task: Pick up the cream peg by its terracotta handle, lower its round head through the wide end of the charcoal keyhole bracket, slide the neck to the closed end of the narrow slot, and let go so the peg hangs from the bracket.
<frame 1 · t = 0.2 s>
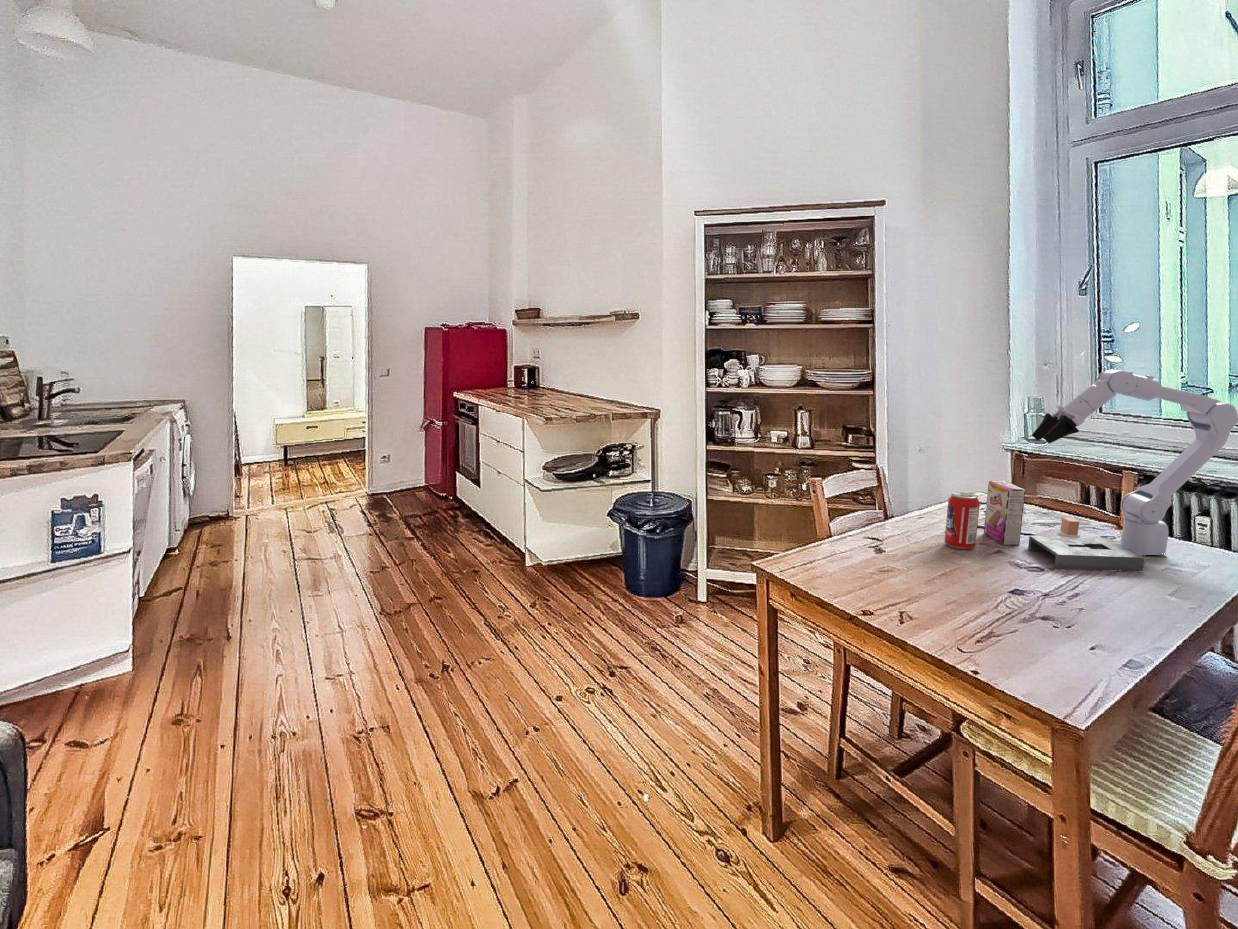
hand: (1040, 439, 181), 31 cm above the table, tool tilted 45°, fingers open, 7 cm apart
keyhole bracket: (1082, 559, 177), on the table
peg: (1067, 543, 190), on the table
soda can: (959, 547, 188), on the table
candy bar box: (1000, 540, 194), on the table
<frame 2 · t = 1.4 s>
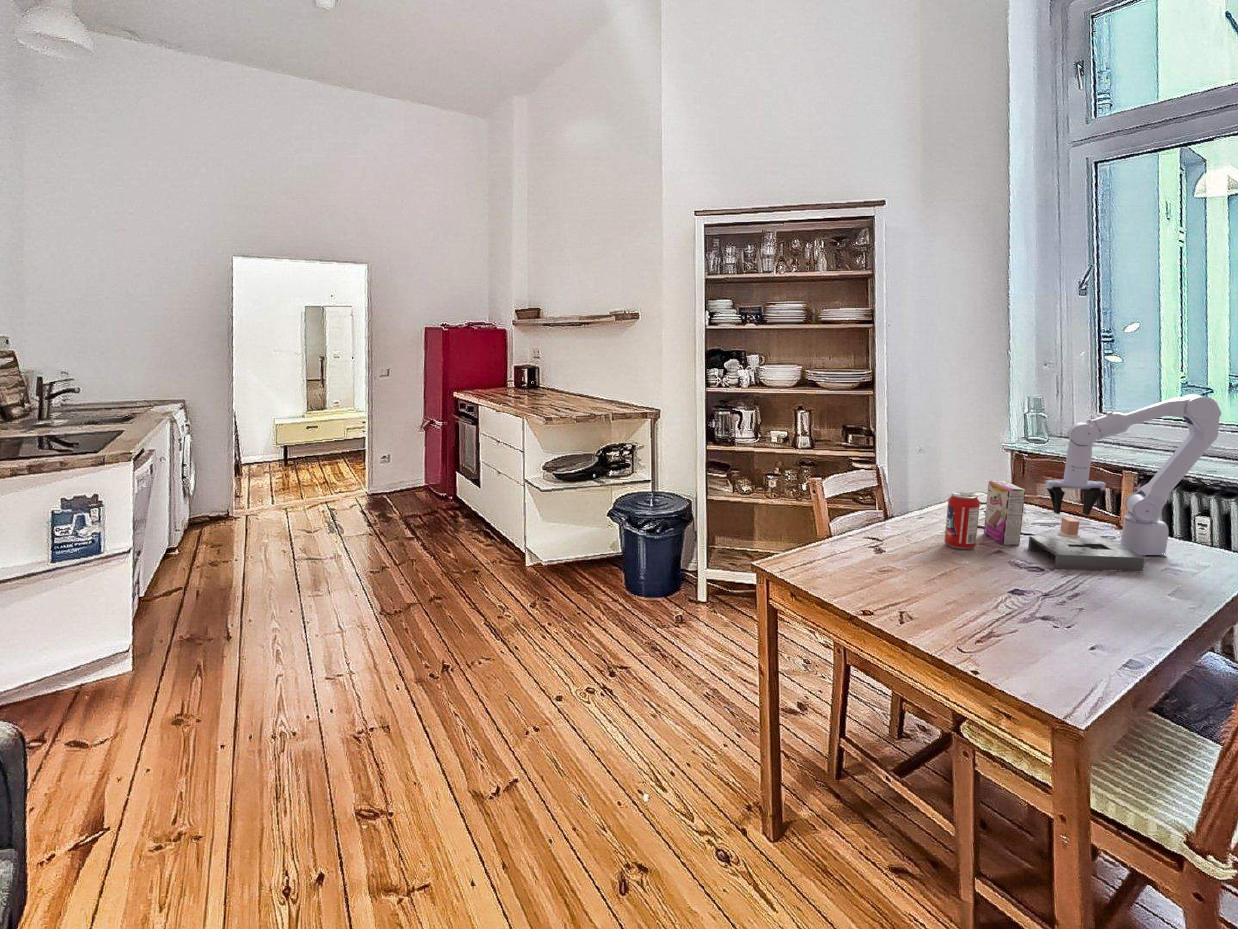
hand: (1071, 513, 188), 9 cm above the table, tool pointing down, fingers open, 7 cm apart
nothing on the table moved.
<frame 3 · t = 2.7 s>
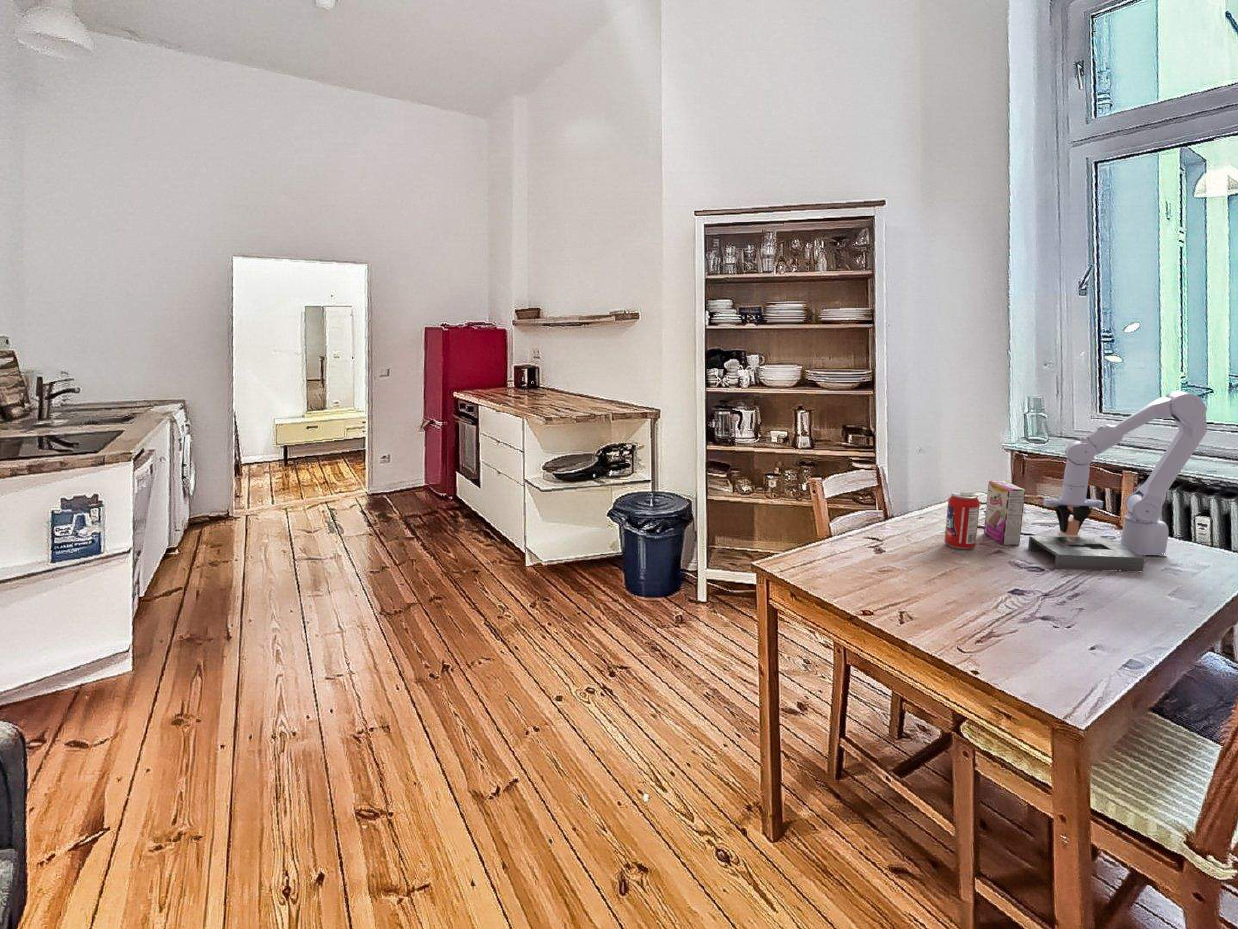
hand: (1069, 531, 189), 4 cm above the table, tool pointing down, fingers closed on peg, 3 cm apart
peg: (1067, 543, 190), on the table, touching gripper
everything else where it was.
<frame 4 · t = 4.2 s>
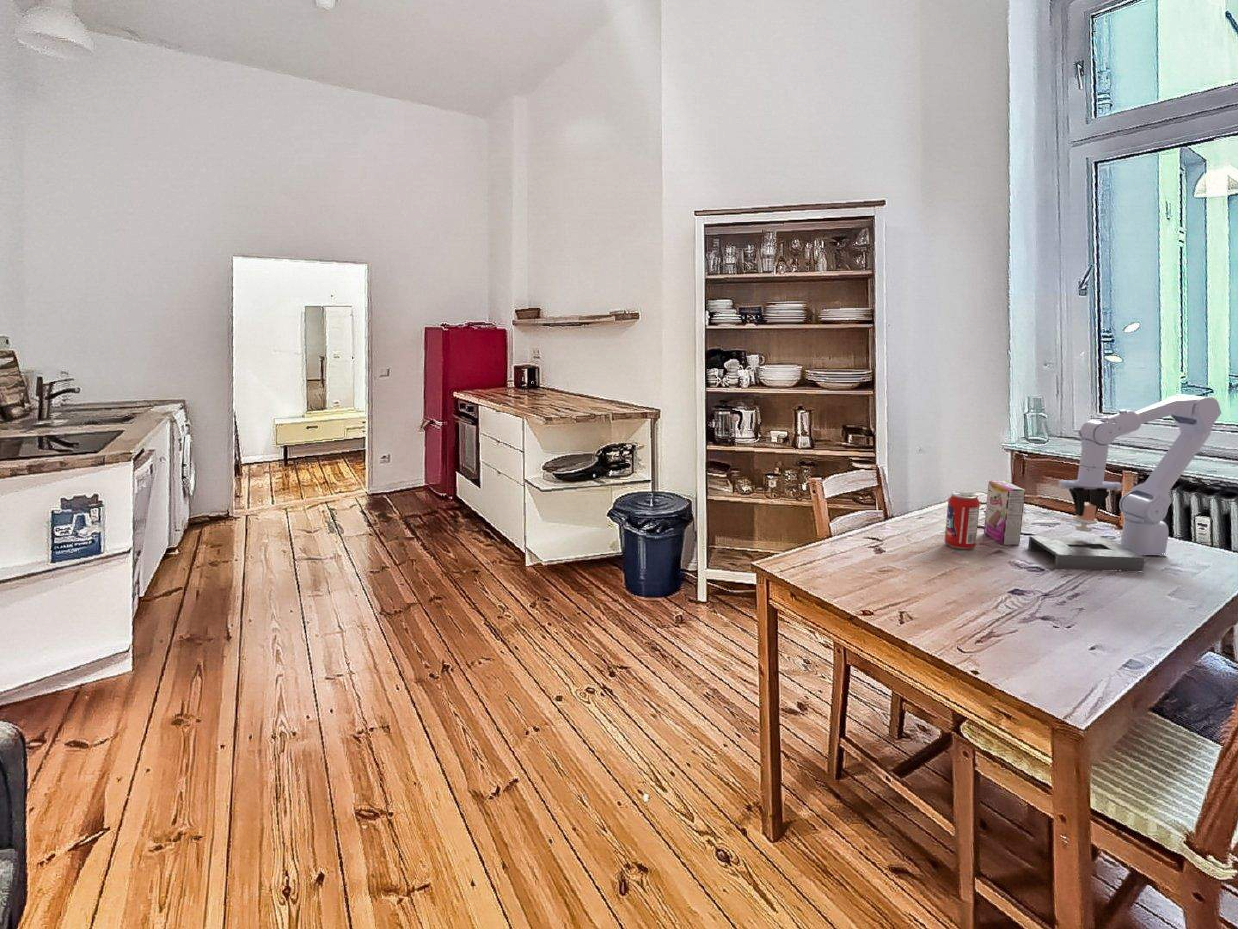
hand: (1085, 515, 181), 10 cm above the table, tool pointing down, fingers closed on peg, 3 cm apart
peg: (1083, 529, 182), point 6 cm above the table, touching gripper
everything else where it was.
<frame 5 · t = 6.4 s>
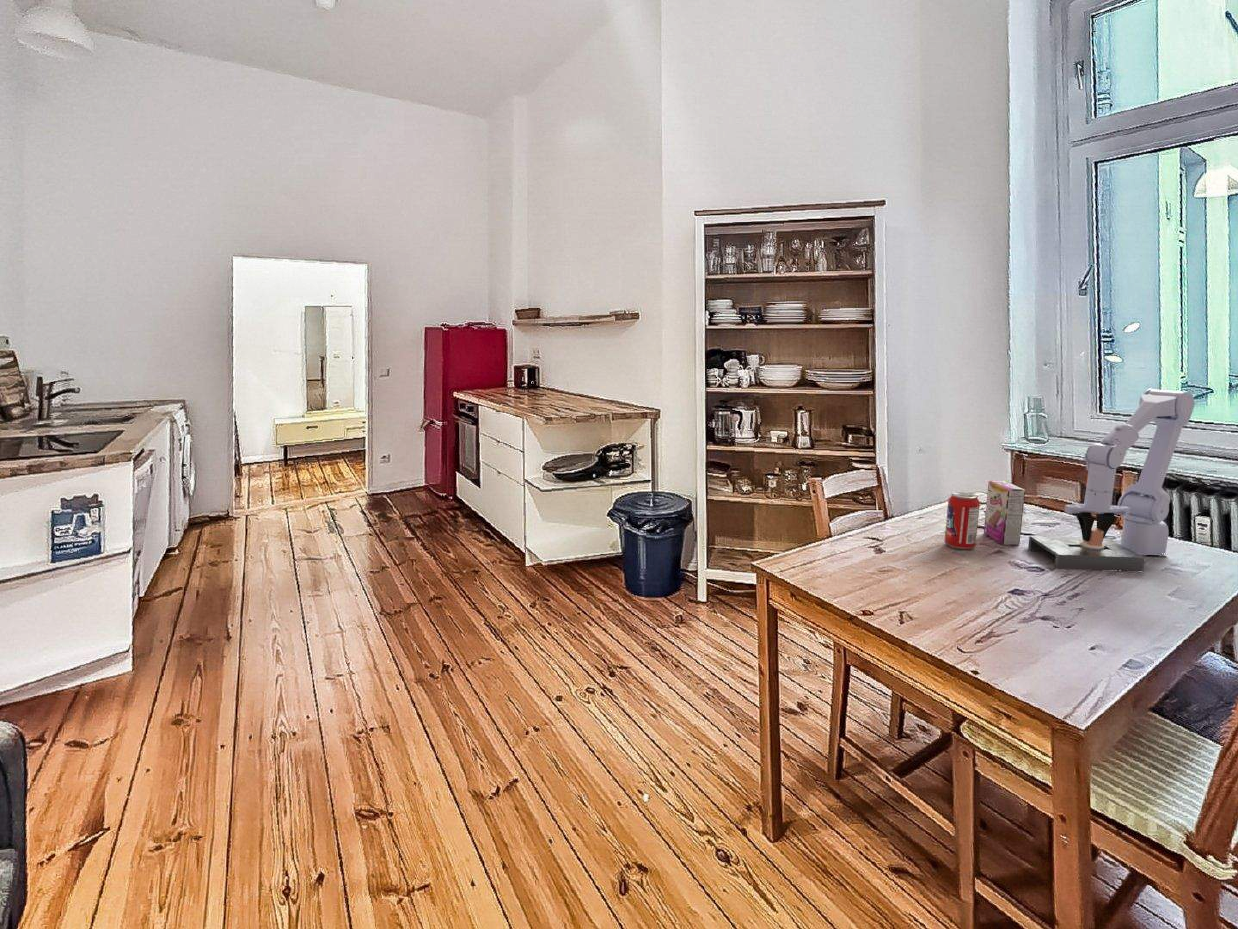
hand: (1092, 540, 176), 5 cm above the table, tool pointing down, fingers closed on peg, 3 cm apart
peg: (1090, 555, 176), point 1 cm above the table, touching gripper
everything else where it was.
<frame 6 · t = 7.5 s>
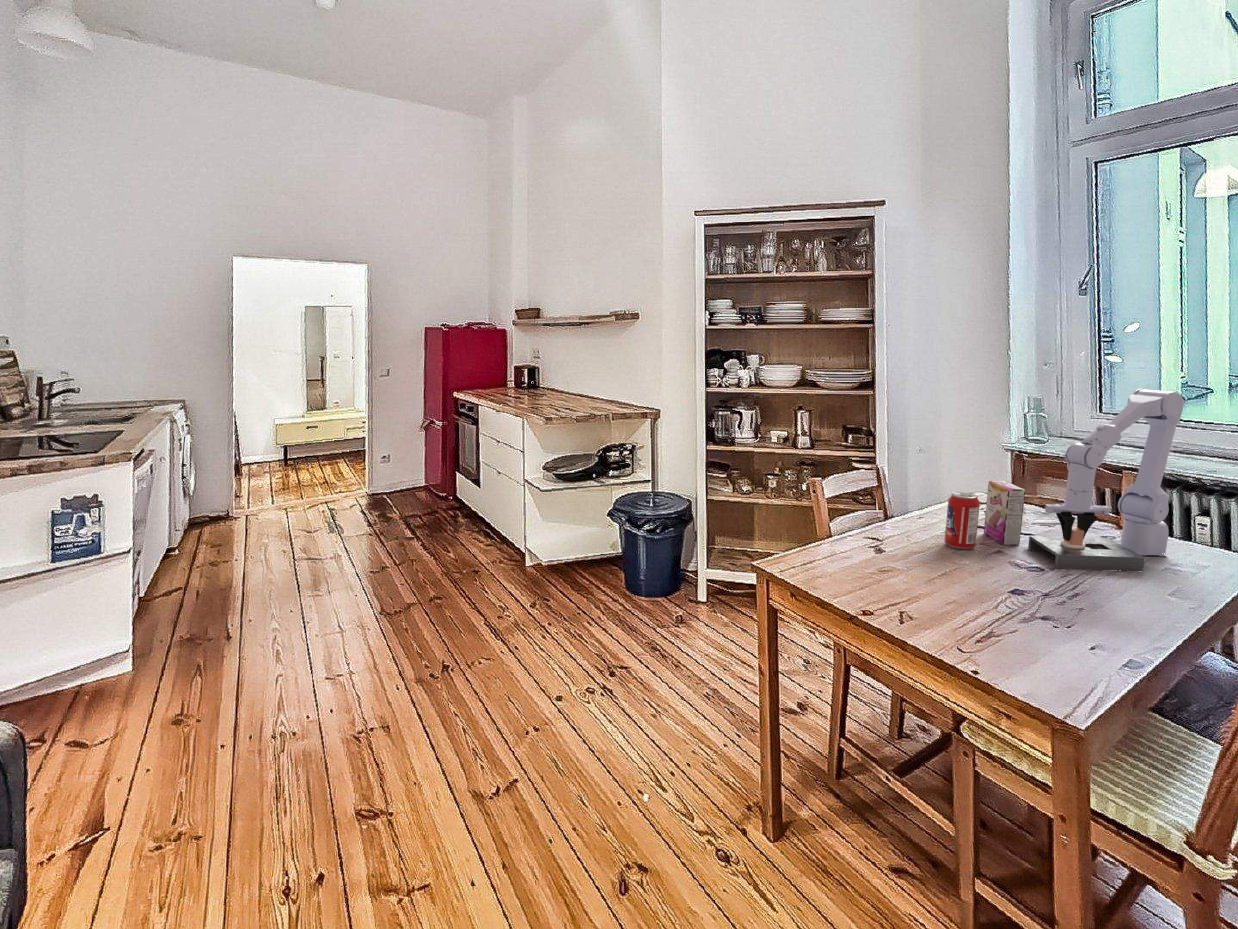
hand: (1072, 539, 176), 5 cm above the table, tool pointing down, fingers closed on peg, 3 cm apart
peg: (1071, 554, 177), point 1 cm above the table, touching gripper, keyhole bracket
everything else where it was.
when the fingers open (5 cm above the table, at t = 8.4 s): peg stays where it is, resting on keyhole bracket.
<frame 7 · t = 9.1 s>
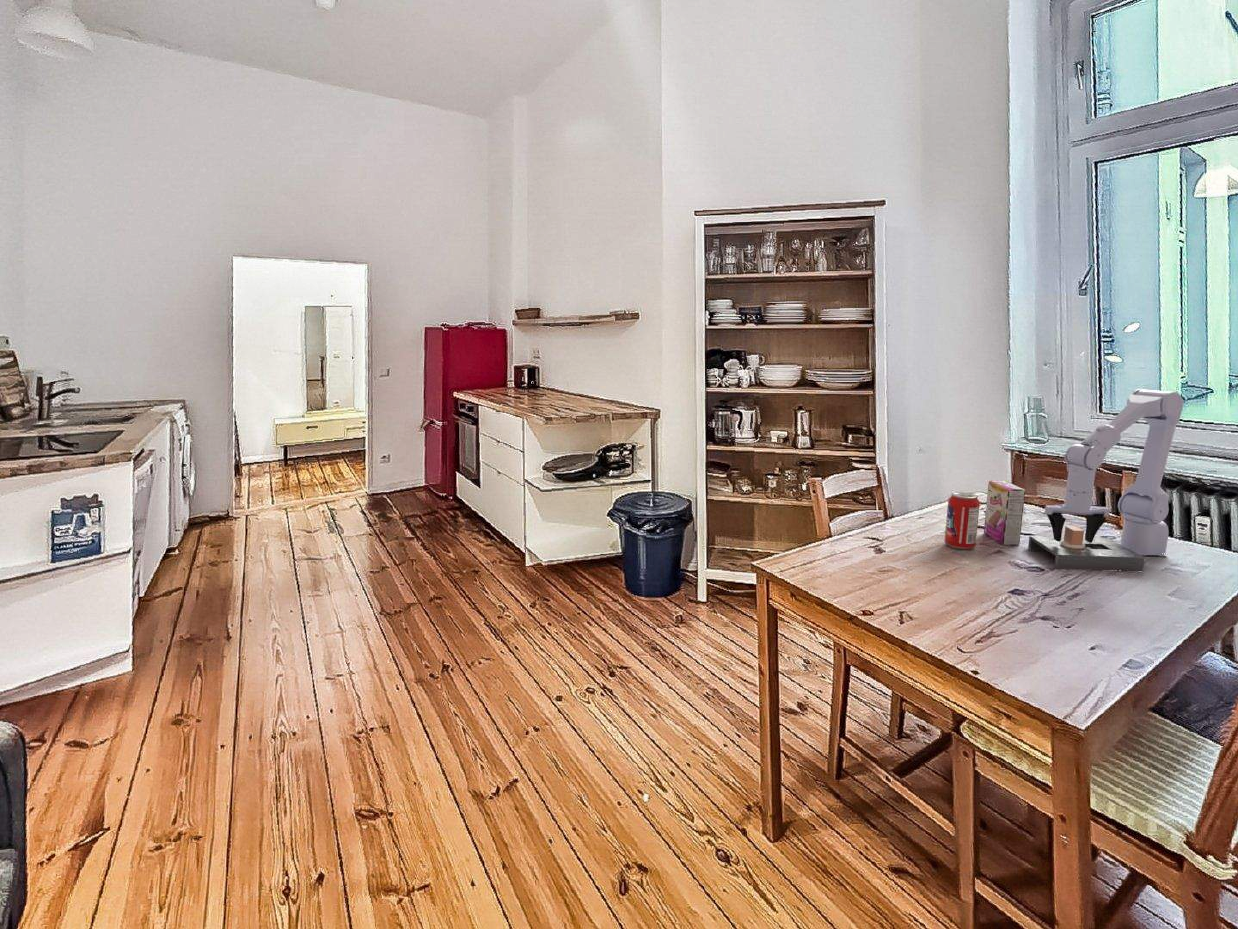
hand: (1072, 540, 176), 5 cm above the table, tool pointing down, fingers open, 7 cm apart
peg: (1071, 554, 177), point 1 cm above the table, touching keyhole bracket
everything else where it was.
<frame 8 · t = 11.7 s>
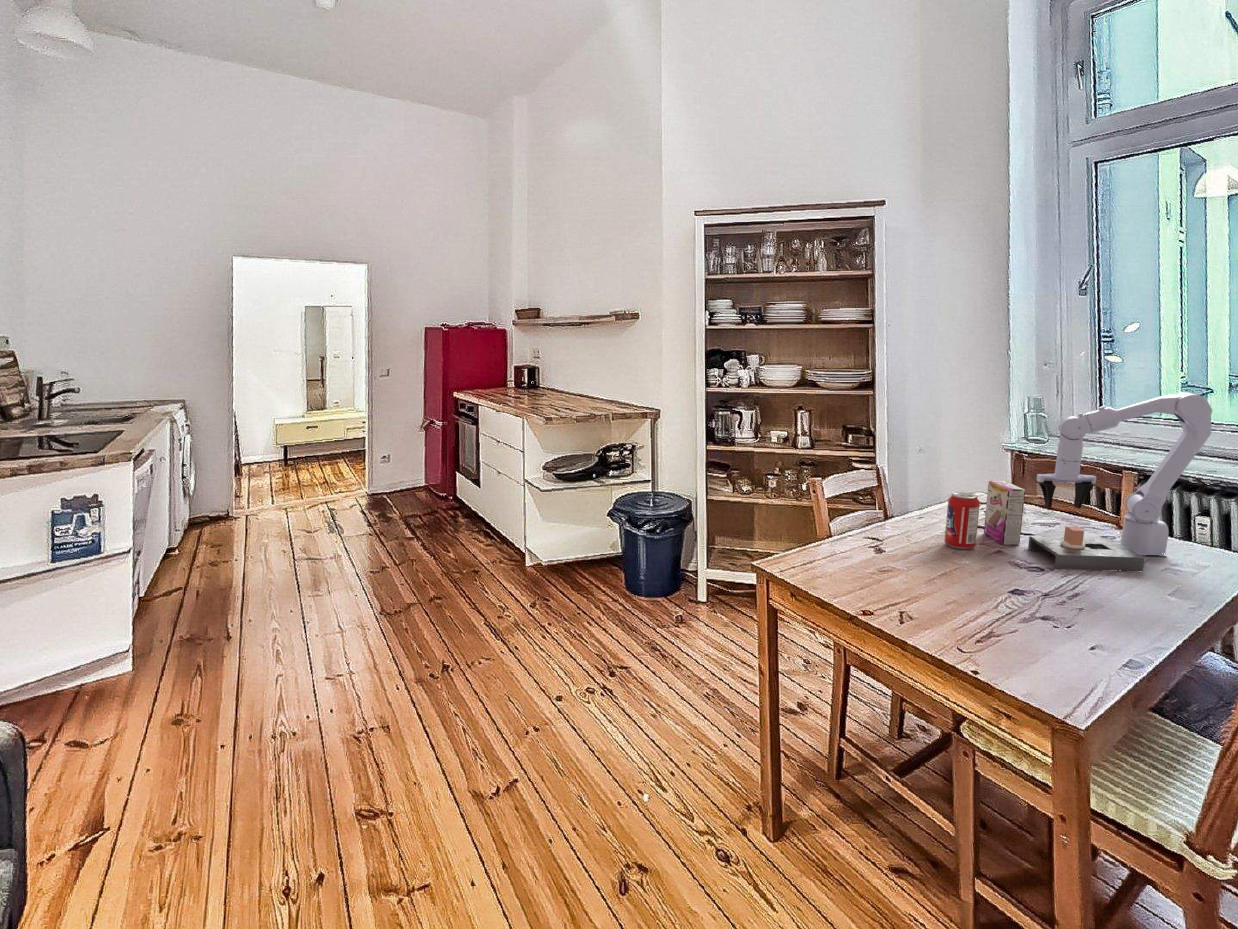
hand: (1062, 507, 189), 10 cm above the table, tool pointing down, fingers open, 7 cm apart
nothing on the table moved.
at the end: peg 0.2 cm from the target spot on the keyhole bracket, point 1.4 cm above the keyhole bracket's base; the gripper is holding nothing; peg tilted 0° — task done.
